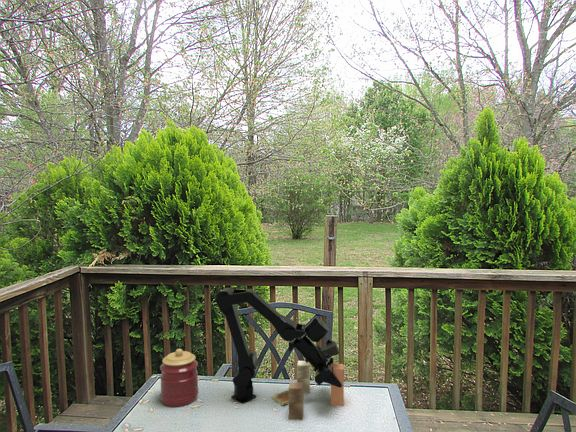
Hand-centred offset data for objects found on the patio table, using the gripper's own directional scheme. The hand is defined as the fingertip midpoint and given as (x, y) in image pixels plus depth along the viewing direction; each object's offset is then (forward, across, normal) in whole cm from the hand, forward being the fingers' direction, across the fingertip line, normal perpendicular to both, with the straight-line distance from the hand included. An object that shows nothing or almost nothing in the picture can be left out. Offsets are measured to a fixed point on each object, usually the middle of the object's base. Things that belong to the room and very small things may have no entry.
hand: (341, 383), depth 135 cm
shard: (-9, +1, +19) cm, 21 cm away
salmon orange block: (+4, 0, +6) cm, 7 cm away
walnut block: (-6, -10, +15) cm, 19 cm away
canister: (-35, -3, +45) cm, 57 cm away
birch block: (-5, +8, +14) cm, 17 cm away
